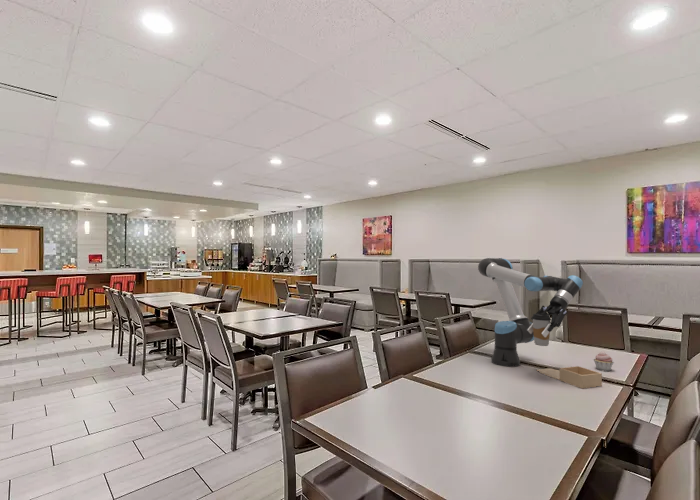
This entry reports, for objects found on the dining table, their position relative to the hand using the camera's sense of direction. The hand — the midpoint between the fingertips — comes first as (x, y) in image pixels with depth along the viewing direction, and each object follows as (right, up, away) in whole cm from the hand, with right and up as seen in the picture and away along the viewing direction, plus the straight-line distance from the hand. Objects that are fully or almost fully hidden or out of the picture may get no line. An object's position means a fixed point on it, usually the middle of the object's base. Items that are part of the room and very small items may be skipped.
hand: (536, 333), depth 180 cm
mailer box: (+16, -23, +2) cm, 28 cm away
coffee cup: (+3, -6, +1) cm, 7 cm away
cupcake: (+46, -24, +18) cm, 55 cm away
